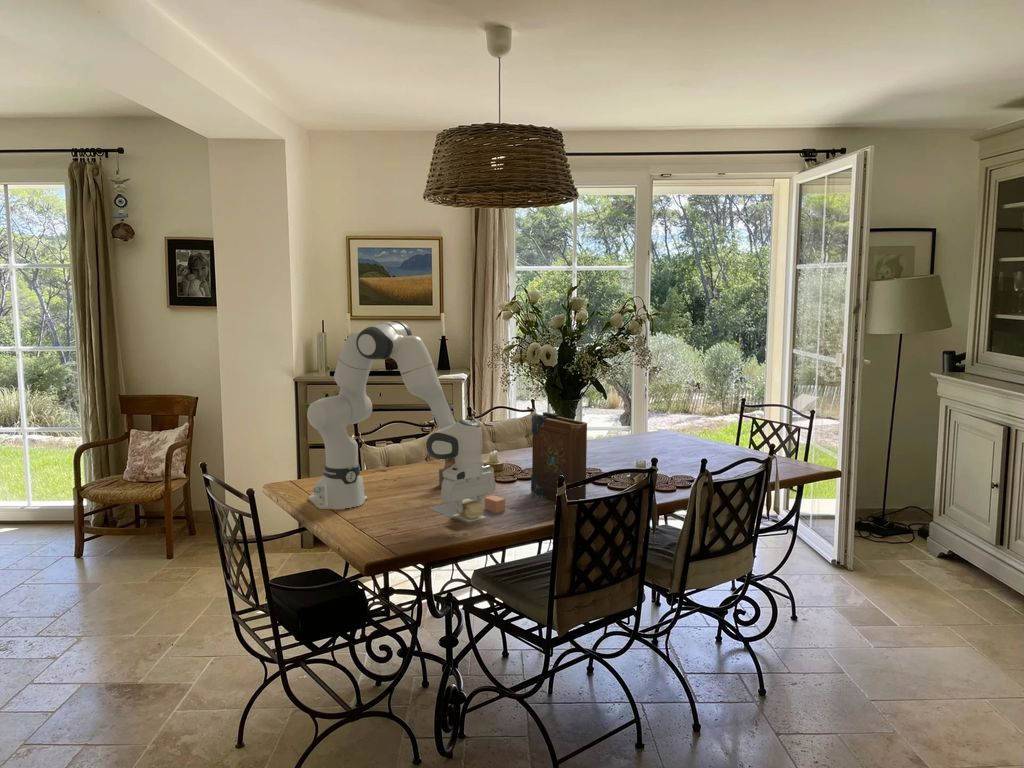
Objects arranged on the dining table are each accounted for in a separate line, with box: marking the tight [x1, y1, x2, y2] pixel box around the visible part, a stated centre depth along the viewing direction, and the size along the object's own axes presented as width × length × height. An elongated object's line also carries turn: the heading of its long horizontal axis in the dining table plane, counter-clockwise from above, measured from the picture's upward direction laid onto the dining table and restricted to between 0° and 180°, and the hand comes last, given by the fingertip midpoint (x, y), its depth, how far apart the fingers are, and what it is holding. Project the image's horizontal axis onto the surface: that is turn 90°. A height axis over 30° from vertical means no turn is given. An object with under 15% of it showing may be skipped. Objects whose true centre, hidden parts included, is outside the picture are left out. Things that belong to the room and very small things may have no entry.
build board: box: [428, 497, 517, 525], centre depth 254 cm, size 23×20×2 cm
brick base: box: [456, 499, 483, 519], centre depth 246 cm, size 8×5×4 cm, turn 42°
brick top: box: [484, 495, 506, 513], centre depth 254 cm, size 6×4×4 cm, turn 42°
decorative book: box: [530, 411, 588, 501], centre depth 270 cm, size 23×7×30 cm, turn 39°
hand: (469, 510), depth 246 cm, fingers open, 5 cm apart
